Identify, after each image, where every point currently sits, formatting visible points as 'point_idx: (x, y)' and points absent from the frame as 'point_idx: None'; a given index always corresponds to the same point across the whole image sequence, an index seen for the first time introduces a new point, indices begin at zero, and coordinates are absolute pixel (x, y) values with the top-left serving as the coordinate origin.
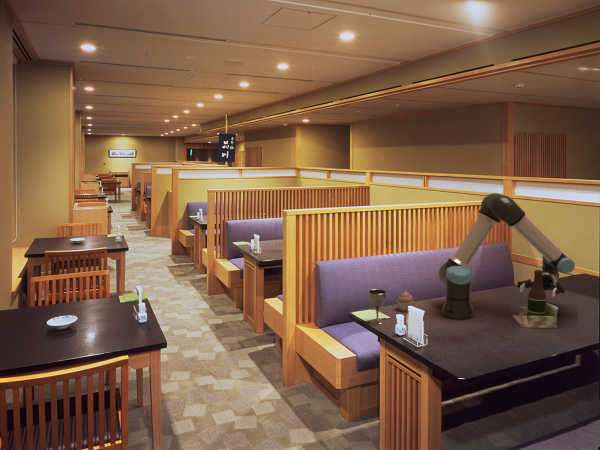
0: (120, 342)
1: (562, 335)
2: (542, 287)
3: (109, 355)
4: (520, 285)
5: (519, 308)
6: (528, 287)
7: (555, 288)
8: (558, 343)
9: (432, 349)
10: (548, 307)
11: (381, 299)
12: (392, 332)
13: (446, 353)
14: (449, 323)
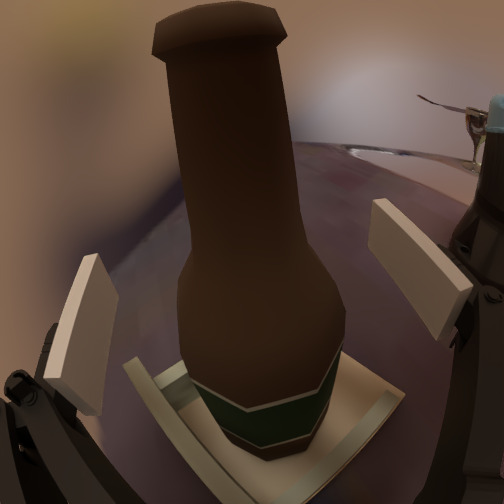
0: (452, 107)
1: (131, 348)
2: (193, 261)
3: (432, 102)
4: (448, 256)
5: (393, 398)
6: (449, 399)
7: (58, 345)
8: (138, 283)
9: (331, 152)
10: (199, 442)
11: (466, 119)
12: (420, 156)
13: (307, 154)
14: (433, 214)
